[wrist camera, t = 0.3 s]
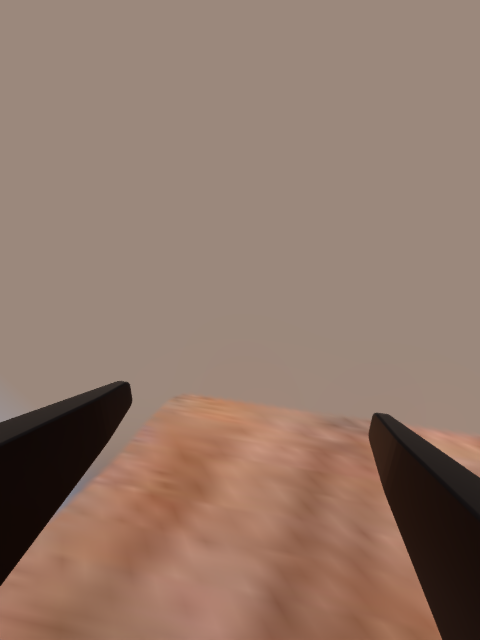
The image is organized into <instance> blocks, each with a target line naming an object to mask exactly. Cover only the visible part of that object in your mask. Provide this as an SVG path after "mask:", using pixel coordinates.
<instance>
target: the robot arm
mask: <svg viewBox="0 0 480 640" xmlns="http://www.w3.org/2000/svg"><path fill="white" fill-rule="evenodd" d="M131 404H132V394H131V388H130V384H129V383H128V382H124V381H117V382H114V383H111V384H108V385H105V386H102V387H100V388H97V389H94V390H91V391H88V392H85V393H83V394H80V395H77V396H74V397H71V398H69V399H66V400H63V401H60V402H57V403H54V404H52V405H49V406H46V407H43V408H40V409H38V410H34V411H32V412H29V413H26V414H23V415H20V416H18V417H15V418H12V419H9V420H6V421H3V422H1V423H0V586H1V585H2V583H3V582H4V581H5V579H6V578H7V577H8V575H9V574H10V573H11V571H12V570H13V569H14V567H15V566H16V565H17V563H18V562H19V561H20V559H21V558H22V557H23V555H24V554H25V553H26V551H27V550H28V549H29V547H30V546H31V545H32V543H33V542H34V541H35V539H36V538H37V537H38V535H39V534H40V533H41V531H42V530H43V529H44V527H45V526H46V525H47V523H48V522H49V521H50V519H51V518H52V517H53V515H54V514H55V513H56V511H57V510H58V509H59V507H60V506H61V505H62V503H63V502H64V501H65V499H66V498H67V497H68V495H69V494H70V493H71V491H72V490H73V488H74V487H75V486H76V485H77V483H78V482H79V480H80V479H81V478H82V476H83V475H84V474H85V472H86V471H87V470H88V468H89V467H90V466H91V464H92V463H93V462H94V460H95V459H96V458H97V456H98V455H99V454H100V452H101V451H102V450H103V448H104V447H105V446H106V444H107V443H108V441H109V440H110V438H111V436H112V435H113V434H114V432H115V430H116V429H117V427H118V426H119V424H120V422H121V421H122V419H123V418H124V416H125V414H126V413H127V411H128V410H129V408H130V406H131ZM369 441H370V445H371V448H372V452H373V455H374V459H375V462H376V466H377V469H378V473H379V476H380V480H381V483H382V486H383V489H384V492H385V495H386V498H387V500H388V503H389V505H390V508H391V510H392V513H393V516H394V518H395V521H396V523H397V526H398V528H399V531H400V533H401V536H402V538H403V541H404V543H405V546H406V549H407V551H408V554H409V556H410V559H411V561H412V564H413V566H414V569H415V571H416V574H417V576H418V579H419V581H420V584H421V587H422V589H423V592H424V594H425V597H426V599H427V602H428V604H429V607H430V609H431V612H432V614H433V617H434V620H435V622H436V625H437V627H438V630H439V632H440V635H441V637H442V640H480V478H479V477H478V476H477V475H475V474H474V473H472V472H471V471H469V470H468V469H466V468H465V467H464V466H462V465H461V464H459V463H458V462H456V461H455V460H453V459H452V458H451V457H449V456H448V455H446V454H445V453H443V452H442V451H441V450H439V449H438V448H436V447H435V446H433V445H432V444H430V443H429V442H428V441H426V440H425V439H423V438H422V437H420V436H419V435H417V434H416V433H415V432H413V431H412V430H410V429H409V428H407V427H406V426H405V425H403V424H402V423H400V422H399V421H397V420H396V419H394V418H393V417H391V416H390V415H388V414H383V413H374V414H373V416H372V420H371V425H370V429H369Z"/></svg>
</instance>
